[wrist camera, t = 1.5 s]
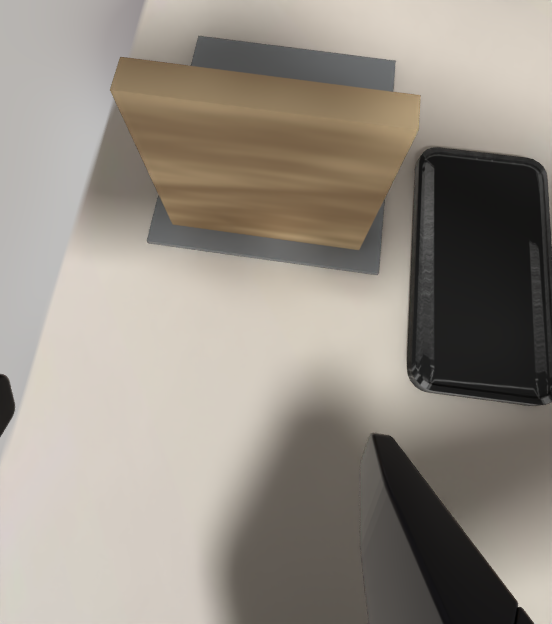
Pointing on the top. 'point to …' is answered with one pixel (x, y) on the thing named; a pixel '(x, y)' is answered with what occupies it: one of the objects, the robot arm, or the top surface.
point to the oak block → (265, 149)
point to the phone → (481, 278)
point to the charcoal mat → (293, 67)
